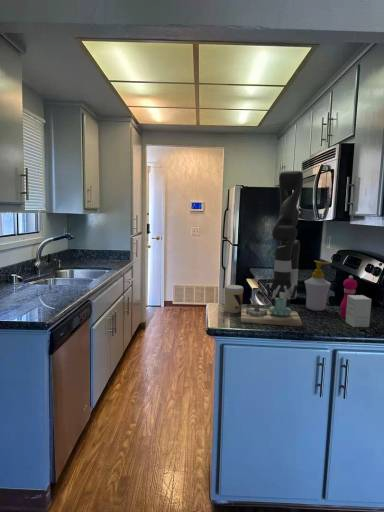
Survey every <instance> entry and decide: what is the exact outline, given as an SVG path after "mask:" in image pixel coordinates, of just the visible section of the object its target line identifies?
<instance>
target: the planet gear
mask: <svg viewBox="0 0 384 512" xmlns="http://www.w3.org/2000/svg"><path fill="white" fill-rule="evenodd" d="M268 309H269V312H270V313H272V314H273V313H274V314H276V315H278V314H279V315H290V314H291V311H292V308H290V307H289V306H288V307H287V299H285V298H280V297H275V306H273V305H271V306H270V307H269V308H268Z"/></svg>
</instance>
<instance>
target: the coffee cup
mask: <svg viewBox="0 0 384 512" xmlns="http://www.w3.org/2000/svg"><path fill="white" fill-rule="evenodd" d="M223 290H224V309H225V312H227V313H231V314H232V313H233V314H238V313H241V308H243V307H242V306H243V297H244V296H243V295H244V286H242V285H238V284H237V285H236V284H228V285H227V284H226V285H225V286H224V288H223Z"/></svg>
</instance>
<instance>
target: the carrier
mask: <svg viewBox="0 0 384 512" xmlns="http://www.w3.org/2000/svg"><path fill="white" fill-rule="evenodd" d="M253 305H254V306H253V307H241V312H240V313H241V314H240V323H248V324H263V325H265V324H266V325H277V326H278V325H279V326H289V327H291V326H292V327H302V326H303V322H302V319H301V318H300V316H299V314H298V312H297V310H291V314H290V315H279V314H278V315H276V314H274V313H273V314H272V313H270V312H269V308H268V309H267V308H266V309H265V308H263V307H262V308H261V306H260V303H258V302H257V303H256V302H255V303H254V304H253Z"/></svg>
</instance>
